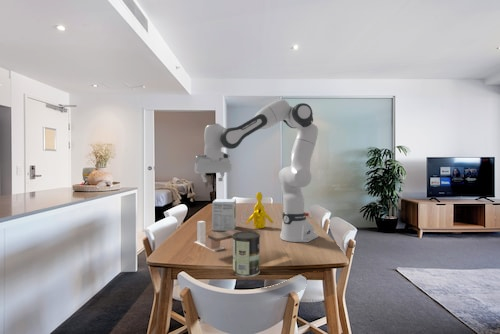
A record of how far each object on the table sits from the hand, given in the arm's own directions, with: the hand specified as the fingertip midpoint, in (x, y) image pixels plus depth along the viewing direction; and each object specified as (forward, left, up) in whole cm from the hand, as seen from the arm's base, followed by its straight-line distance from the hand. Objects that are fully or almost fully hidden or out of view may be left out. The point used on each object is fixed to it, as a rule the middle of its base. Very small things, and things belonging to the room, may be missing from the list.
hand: (212, 181), depth 142 cm
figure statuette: (-39, -6, -31) cm, 50 cm away
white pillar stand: (+8, +9, -31) cm, 33 cm away
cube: (+8, +13, -29) cm, 33 cm away
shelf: (+8, +23, -31) cm, 39 cm away
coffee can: (+12, +42, -31) cm, 54 cm away
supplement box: (-20, -18, -31) cm, 41 cm away
